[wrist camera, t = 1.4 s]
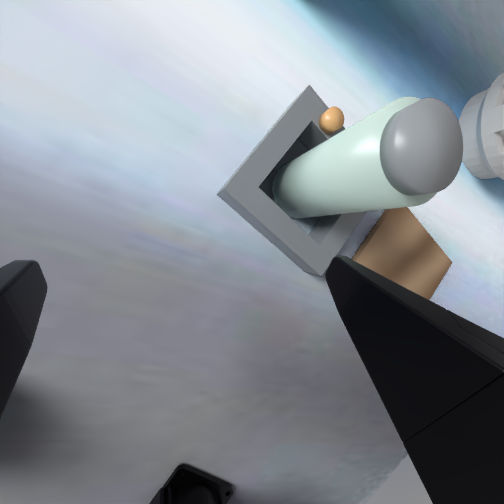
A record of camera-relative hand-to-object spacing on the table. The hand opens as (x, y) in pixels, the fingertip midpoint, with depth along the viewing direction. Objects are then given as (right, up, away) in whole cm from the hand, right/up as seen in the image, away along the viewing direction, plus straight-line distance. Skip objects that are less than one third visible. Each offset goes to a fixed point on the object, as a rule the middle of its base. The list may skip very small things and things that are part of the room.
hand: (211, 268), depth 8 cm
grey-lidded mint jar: (+6, +7, +16) cm, 18 cm away
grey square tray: (+6, +7, +16) cm, 18 cm away
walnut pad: (+18, -2, +21) cm, 28 cm away
